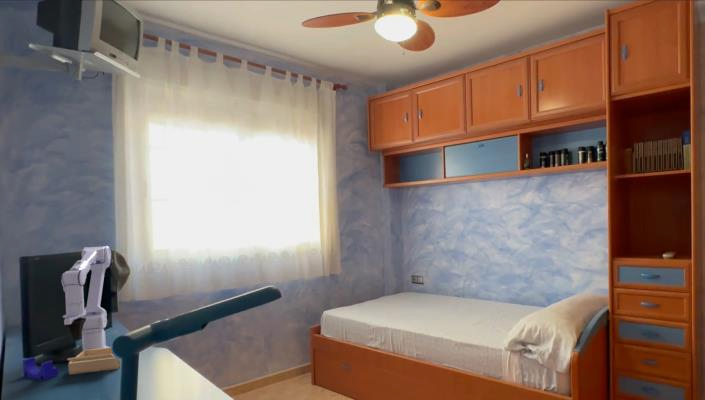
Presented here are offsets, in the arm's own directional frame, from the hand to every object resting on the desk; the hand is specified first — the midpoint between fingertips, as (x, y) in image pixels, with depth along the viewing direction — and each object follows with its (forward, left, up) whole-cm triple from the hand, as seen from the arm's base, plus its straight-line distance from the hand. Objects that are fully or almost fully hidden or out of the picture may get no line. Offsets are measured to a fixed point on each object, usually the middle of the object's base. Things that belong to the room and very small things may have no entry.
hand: (76, 338), depth 161 cm
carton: (+1, +8, -10) cm, 13 cm away
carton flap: (+9, +8, -5) cm, 13 cm away
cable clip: (+5, -10, -11) cm, 16 cm away
